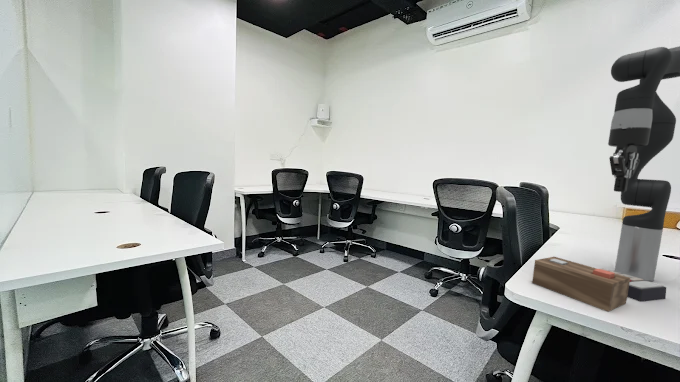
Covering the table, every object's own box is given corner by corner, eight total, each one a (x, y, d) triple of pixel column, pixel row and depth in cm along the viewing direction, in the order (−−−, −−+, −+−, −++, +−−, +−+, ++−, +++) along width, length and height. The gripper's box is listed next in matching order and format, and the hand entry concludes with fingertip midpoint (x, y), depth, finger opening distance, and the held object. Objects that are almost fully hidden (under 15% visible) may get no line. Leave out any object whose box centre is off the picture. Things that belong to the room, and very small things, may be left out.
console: (551, 277, 85) (554, 256, 84) (626, 303, 70) (630, 277, 70) (532, 282, 80) (535, 260, 79) (608, 311, 65) (612, 283, 64)
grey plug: (551, 280, 82) (554, 258, 81) (564, 285, 79) (567, 262, 78) (546, 282, 80) (549, 259, 80) (558, 287, 77) (562, 263, 77)
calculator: (602, 267, 89) (667, 284, 75) (601, 279, 89) (666, 299, 75) (578, 268, 86) (641, 286, 72) (577, 281, 86) (640, 302, 72)
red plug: (594, 293, 73) (598, 268, 72) (610, 298, 70) (614, 273, 69) (589, 295, 71) (593, 269, 71) (605, 301, 68) (609, 274, 68)
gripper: (620, 132, 79) (611, 190, 80) (601, 126, 73) (591, 189, 74) (659, 129, 72) (648, 193, 74) (641, 123, 66) (629, 193, 68)
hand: (619, 191), depth 74 cm, fingers closed
